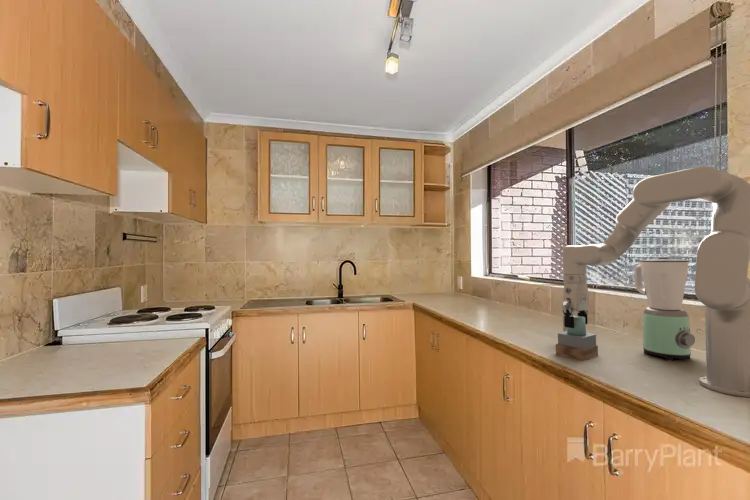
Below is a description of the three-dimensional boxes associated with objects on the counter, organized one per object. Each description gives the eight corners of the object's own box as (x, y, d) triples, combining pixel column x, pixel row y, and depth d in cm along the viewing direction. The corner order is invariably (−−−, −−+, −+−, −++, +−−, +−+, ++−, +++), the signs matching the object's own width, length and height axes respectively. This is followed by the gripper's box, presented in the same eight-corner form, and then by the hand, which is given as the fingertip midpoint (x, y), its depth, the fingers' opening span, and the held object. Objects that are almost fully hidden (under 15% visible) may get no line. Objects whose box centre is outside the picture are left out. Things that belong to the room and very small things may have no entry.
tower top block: (596, 345, 126) (595, 334, 126) (583, 349, 121) (583, 338, 121) (571, 340, 133) (570, 329, 133) (558, 344, 128) (557, 333, 128)
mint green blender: (708, 361, 116) (704, 257, 117) (676, 364, 113) (673, 258, 114) (651, 346, 135) (649, 257, 135) (623, 349, 132) (621, 257, 132)
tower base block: (598, 356, 125) (597, 345, 125) (584, 361, 120) (584, 350, 120) (569, 350, 134) (569, 340, 134) (556, 355, 128) (555, 344, 128)
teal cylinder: (589, 333, 126) (588, 317, 126) (580, 336, 123) (579, 319, 123) (572, 331, 131) (571, 315, 131) (563, 333, 128) (562, 317, 128)
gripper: (573, 281, 119) (575, 330, 119) (596, 278, 129) (598, 324, 128) (552, 279, 125) (553, 327, 125) (575, 277, 135) (577, 321, 135)
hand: (576, 325), depth 127 cm, fingers open, 9 cm apart
